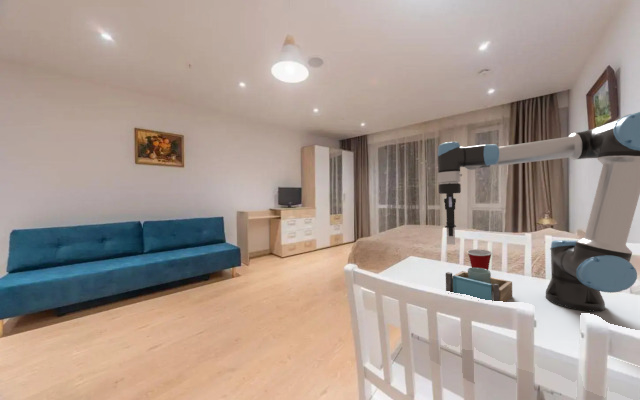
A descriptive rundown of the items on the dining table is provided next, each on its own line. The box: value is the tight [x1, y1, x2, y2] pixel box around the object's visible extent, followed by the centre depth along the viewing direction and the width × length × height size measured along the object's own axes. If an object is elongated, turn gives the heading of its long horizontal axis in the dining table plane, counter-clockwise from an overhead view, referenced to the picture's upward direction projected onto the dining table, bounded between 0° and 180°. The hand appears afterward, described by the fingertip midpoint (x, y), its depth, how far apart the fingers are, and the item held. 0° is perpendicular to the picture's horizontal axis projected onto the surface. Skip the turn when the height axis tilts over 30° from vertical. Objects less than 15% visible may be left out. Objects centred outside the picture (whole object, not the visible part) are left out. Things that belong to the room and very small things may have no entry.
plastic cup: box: [466, 248, 493, 270], centre depth 122 cm, size 11×11×12 cm
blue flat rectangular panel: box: [452, 274, 493, 301], centre depth 95 cm, size 14×1×7 cm, turn 36°
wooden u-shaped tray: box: [445, 270, 513, 303], centre depth 99 cm, size 19×15×8 cm
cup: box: [467, 267, 492, 284], centre depth 99 cm, size 8×8×10 cm
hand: (451, 243), depth 94 cm, fingers closed
